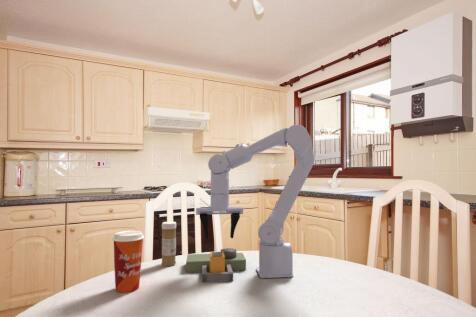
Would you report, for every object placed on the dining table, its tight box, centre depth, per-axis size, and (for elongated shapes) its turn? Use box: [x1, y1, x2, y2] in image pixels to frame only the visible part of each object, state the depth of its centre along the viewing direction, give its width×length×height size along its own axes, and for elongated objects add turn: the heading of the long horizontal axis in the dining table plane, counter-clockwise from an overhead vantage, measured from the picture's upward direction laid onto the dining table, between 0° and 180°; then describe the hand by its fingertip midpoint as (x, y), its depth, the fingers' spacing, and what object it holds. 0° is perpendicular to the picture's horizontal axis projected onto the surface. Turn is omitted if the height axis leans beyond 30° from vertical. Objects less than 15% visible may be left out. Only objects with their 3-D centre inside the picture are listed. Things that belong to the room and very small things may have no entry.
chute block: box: [209, 251, 226, 273], centre depth 84 cm, size 4×5×6 cm
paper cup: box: [112, 230, 145, 294], centre depth 75 cm, size 8×8×14 cm
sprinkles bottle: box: [161, 220, 177, 267], centre depth 94 cm, size 5×5×13 cm
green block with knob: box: [185, 247, 247, 283], centre depth 88 cm, size 18×17×5 cm
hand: (219, 237), depth 90 cm, fingers open, 7 cm apart
